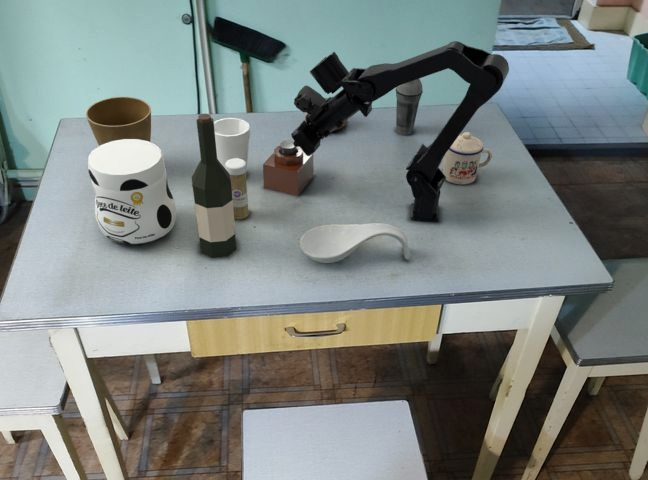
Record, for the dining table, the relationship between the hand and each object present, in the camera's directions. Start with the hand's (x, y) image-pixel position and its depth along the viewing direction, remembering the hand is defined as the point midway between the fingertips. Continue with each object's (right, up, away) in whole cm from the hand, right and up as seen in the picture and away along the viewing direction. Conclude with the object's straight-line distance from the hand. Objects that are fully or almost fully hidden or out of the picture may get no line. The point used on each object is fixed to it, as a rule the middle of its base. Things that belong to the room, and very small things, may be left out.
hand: (294, 144), depth 159 cm
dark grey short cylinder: (-2, -1, +2) cm, 3 cm away
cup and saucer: (+8, +15, +30) cm, 34 cm away
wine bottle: (-16, -26, -12) cm, 33 cm away
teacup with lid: (+43, -4, +12) cm, 45 cm away
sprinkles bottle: (-13, -17, -3) cm, 22 cm away
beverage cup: (+30, +12, +29) cm, 43 cm away
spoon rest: (+14, -28, -13) cm, 34 cm away
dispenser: (-2, -7, +8) cm, 11 cm away
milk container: (-35, -22, -8) cm, 42 cm away
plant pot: (-42, -4, +10) cm, 43 cm away
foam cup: (-16, -5, +10) cm, 19 cm away
